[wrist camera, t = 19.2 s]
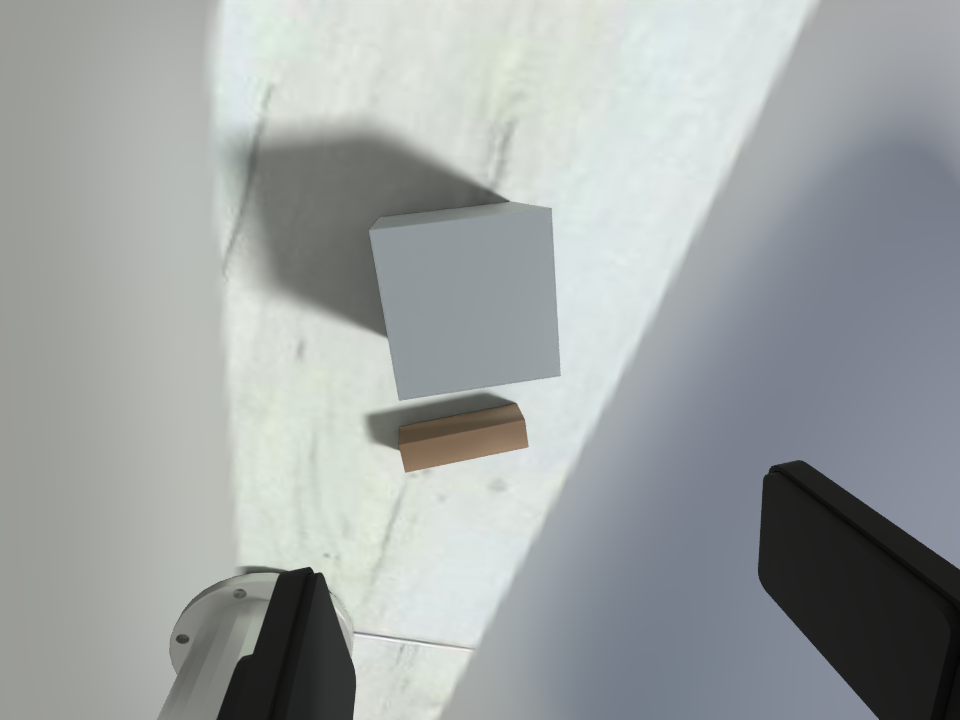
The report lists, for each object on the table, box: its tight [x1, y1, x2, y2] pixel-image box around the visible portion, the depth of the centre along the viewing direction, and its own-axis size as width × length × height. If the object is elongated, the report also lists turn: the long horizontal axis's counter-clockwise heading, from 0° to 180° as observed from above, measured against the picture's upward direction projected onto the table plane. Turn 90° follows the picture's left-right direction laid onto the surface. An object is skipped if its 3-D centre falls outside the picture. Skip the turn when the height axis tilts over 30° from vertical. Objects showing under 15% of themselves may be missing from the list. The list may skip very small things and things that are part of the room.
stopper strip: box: [399, 403, 528, 473], centre depth 33 cm, size 2×8×2 cm, turn 99°
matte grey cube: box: [369, 202, 561, 401], centre depth 26 cm, size 8×8×9 cm
